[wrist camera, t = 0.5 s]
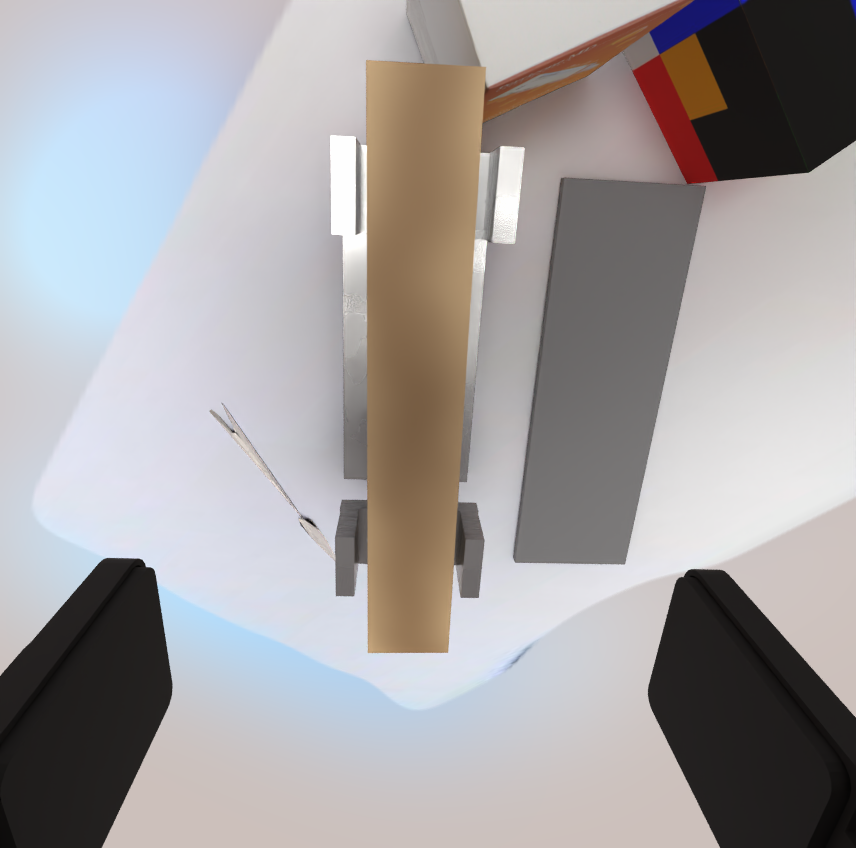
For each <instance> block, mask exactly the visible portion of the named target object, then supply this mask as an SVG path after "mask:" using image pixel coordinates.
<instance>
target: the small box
mask: <svg viewBox="0 0 856 848" xmlns="http://www.w3.org/2000/svg"><path fill="white" fill-rule="evenodd" d="M692 1H694V0H407V3H406V13H407V16H408V19H409V21H410V24H411V27H412V30H413V33H414V36H415V39H416V41H417V44H418V47H419V50H420V53H421V56H422V59H423V61H424V63H425V64H443V65H461V66H479V67H486V76H485V92H484V107H483V122H482V123H484V122H486V121H488V120H490V119H493V118H495V117H497V116H499V115H501V114H503V113H506V112H508V111H510V110H512V109H514V108H516V107H518V106H520V105H523V104H525V103H527V102H529V101H532V100H534V99H536V98H538V97H541V96H543V95H545V94H547V93H549V92H552V91H554V90H556V89H559V88H561V87H563V86H565V85H568V84H570V83H572V82H574V81H577V80H579V79H581V78H584V77H586V76H588V75H590V74H591V73H592V72H594V71H595V70H596V69H598V68H599V67H601V66H602V65H604V64H605V63H606V62H608V61H609V60H610V59H612V58H613V57H614V56H616V55H617V54H619V53H620V52H622V51H623V50H625V49H626V48H627V47H629V46H630V45H631V44H633V43H634V42H636V41H637V40H639V39H640V38H641V37H643V36H644V35H646V34H647V33H648V32H650V31H651V30H653V29H654V28H655V27H657V26H658V25H660V24H661V23H663V22H664V21H665V20H667V19H668V18H670V17H671V16H673V15H674V14H675V13H677V12H678V11H680V10H681V9H683V8H684V7H685V6H687V5H688V4H690V3H691V2H692Z"/></svg>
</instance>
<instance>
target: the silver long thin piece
mask: <svg viewBox="0 0 856 848" xmlns="http://www.w3.org/2000/svg"><path fill="white" fill-rule="evenodd" d="M222 405H223V404H222ZM223 407H224V409H225V411H226V413H227V415H228V417H229V419H230V421H231V423H232V425H233V427H234V430H235V432H233V431H232V430H231V429H230V428H229V427H228V426H227V425H226V423H225V422H224V421H223V420H222V419H221V417H219V416H218V415H217V414H216V413H215V412H214V411H213V410H210V413H211V414H212V415H213V416H214V417H215V419H216V420H217V421H218V422H219V423H220V424H221V425H222V427H223V428H224V429H225V430H226V431H227V432H228V433H229V435H230V436H231V437H232V438H233V439H234V440H235V441H236V443H237V444H238V445H239V446H240V447H241V448H242V449H243V451H244V452H245V453H246V454H247V455H248V456H249V457H250V459H251V460H252V461H253V462H254V463H255V464H256V465H257V467H258V468H259V469H260V470H261V471H262V472H263V473H264V475H265V476H266V477H267V478H268V479H269V480H270V481H271V483H272V484H273V485H274V486H275V487H276V488H277V489H278V491H279V492H280V493H281V494H282V495H283V496H284V498H285V499H286V500H287V501H288V502H289V503H290V505H291V506H292V507H293V508H294V509H295V510H296V512H297V513H298V514H299V512H298V511H297V509H296V508H295V506H294V505H293V504H292V502H291V501H290V499H289V498H288V496H287V495H286V494H285V492H284V491H283V489H282V488H281V487H280V485H279V484H278V482H277V481H276V479H275V478H274V476H273V475H272V474H271V472H270V471H269V469H268V468H267V466H266V465H265V464H264V462H263V461H262V459H261V458H260V456H259V455H258V453H257V452H256V451H255V449H254V448H253V446H252V445H251V443H250V442H249V441H248V439H247V438H246V436H245V435H244V433H243V432H242V430H241V429H240V428H239V426H238V425H237V423H236V422H235V420H234V419H233V418H232V416H231V415H230V413H229V412H228V410H227V409H226V408H225V406H224V405H223ZM299 515H300V514H299ZM300 516H301V515H300ZM299 522H300V524H301V526H302V527H303V528H304V529H305V531H306V532H307V533H308V534H309V535H310V536H311V538H312V539H313V540H314V541H315V542H316V543H317V544H318V545H319V546H320V547H321V548H322V549H323V550H324V551H325V552H326V553H327V554H328V555H329V556H330V557H331V558H332V559H333V560H334V561H335V554H334V553H333V551H332V549H331V547H330V545H329V544H328V542H327V540H326V538H325V537H324V536H323V534H322V533H321V532H320V530H319V529H318V528H317V526H316V525H315V524H314V523H313V521H312V520H311V521H310V520H308V519H303V518H302V516H301V518H299Z"/></svg>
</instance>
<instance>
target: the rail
mask: <svg viewBox="0 0 856 848" xmlns="http://www.w3.org/2000/svg"><path fill="white" fill-rule="evenodd" d="M485 76H486V67H479V66H461V65H443V64H425V63H406V62H388V61H370V60H366V137H367V521H368V653H448V645H449V630H450V614H451V599H452V584H453V568H454V553H455V537H456V522H457V507H458V491H459V476H460V461H461V445H462V430H463V414H464V399H465V384H466V368H467V353H468V338H469V322H470V307H471V291H472V276H473V261H474V245H475V230H476V215H477V199H478V184H479V168H480V153H481V138H482V122H483V107H484V92H485Z"/></svg>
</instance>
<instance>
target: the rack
mask: <svg viewBox="0 0 856 848" xmlns="http://www.w3.org/2000/svg"><path fill="white" fill-rule="evenodd" d="M330 144H331V228H332V234H333V235H343V379H344V479H367V146H365V145H360V143H359V142H358V140H357V138H356V137H349V136H333V135H330ZM524 151H525V147H510V146H500V147H498V148H497V149H495V150H494V151H492V152H491V153H480V168H479V184H478V199H477V215H476V230H475V245H474V261H473V276H472V291H471V307H470V322H469V338H468V353H467V368H466V384H465V399H464V414H463V430H462V445H461V461H460V476H459V482H467V472H468V460H469V449H470V437H471V425H472V413H473V402H474V390H475V378H476V367H477V355H478V343H479V331H480V320H481V308H482V296H483V285H484V273H485V261H486V249H487V241H489V242H491V243H507V244H515V239H516V229H517V219H518V210H519V200H520V190H521V181H522V171H523V161H524ZM483 550H484V536H483V532H482V528H481V524H480V520H479V516H478V508H477V504H476V503H460V502H458V507H457V522H456V537H455V553H454V565H456V570H457V577H458V583H459V590H460V596H461V598H479V589H480V579H481V569H482V560H483ZM335 563H336V596H354V594H355V586H356V578H357V570H358V563H360V564H368V521H367V500H342V501H341V506H340V516H339V521H338V526H337V531H336V536H335Z"/></svg>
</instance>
